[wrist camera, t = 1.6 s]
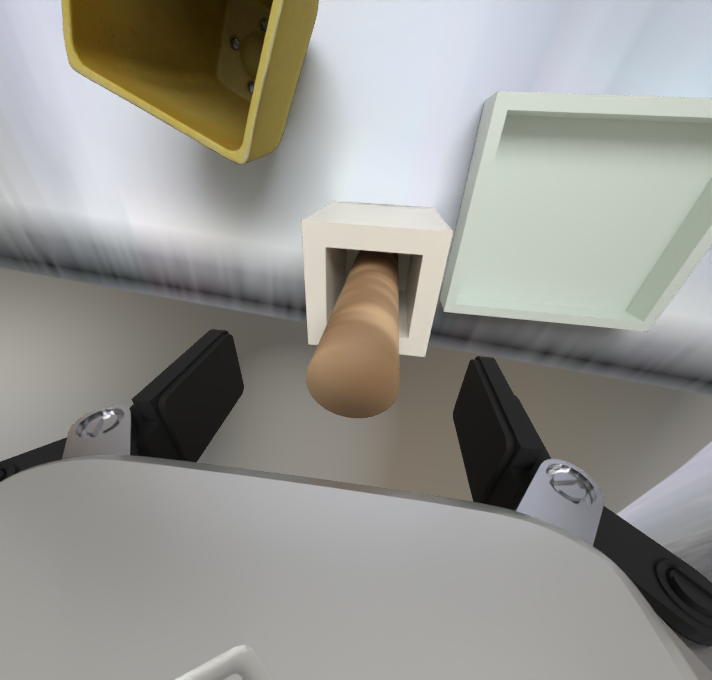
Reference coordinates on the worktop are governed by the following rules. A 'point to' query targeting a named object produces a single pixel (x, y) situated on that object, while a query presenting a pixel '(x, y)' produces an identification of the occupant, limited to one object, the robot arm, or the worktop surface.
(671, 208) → the tray
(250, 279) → the worktop surface
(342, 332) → the dowel
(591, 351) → the worktop surface
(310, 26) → the flower pot
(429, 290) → the white square holder
